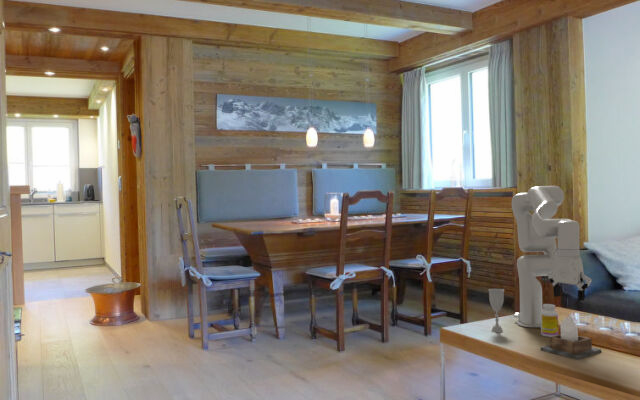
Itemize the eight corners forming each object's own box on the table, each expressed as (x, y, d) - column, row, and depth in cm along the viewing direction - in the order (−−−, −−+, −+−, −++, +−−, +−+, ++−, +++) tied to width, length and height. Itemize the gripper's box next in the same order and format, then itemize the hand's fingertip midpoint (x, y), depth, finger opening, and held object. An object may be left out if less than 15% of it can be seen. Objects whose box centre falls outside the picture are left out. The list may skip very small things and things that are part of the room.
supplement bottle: (560, 337, 221) (559, 306, 221) (542, 337, 223) (542, 306, 222) (556, 333, 228) (555, 303, 228) (539, 333, 229) (539, 303, 229)
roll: (558, 317, 202) (561, 314, 207) (559, 348, 202) (562, 345, 207) (576, 318, 199) (578, 315, 204) (577, 351, 199) (579, 347, 204)
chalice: (495, 328, 239) (494, 287, 239) (508, 331, 234) (508, 289, 234) (485, 331, 235) (484, 290, 235) (499, 334, 229) (498, 291, 229)
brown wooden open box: (540, 349, 205) (540, 336, 205) (564, 343, 213) (563, 330, 213) (577, 359, 192) (577, 345, 192) (601, 352, 200) (600, 338, 200)
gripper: (542, 252, 208) (542, 296, 208) (584, 256, 193) (585, 303, 194) (553, 250, 212) (554, 293, 212) (596, 254, 197) (596, 300, 198)
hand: (569, 298), depth 203 cm, fingers open, 9 cm apart
